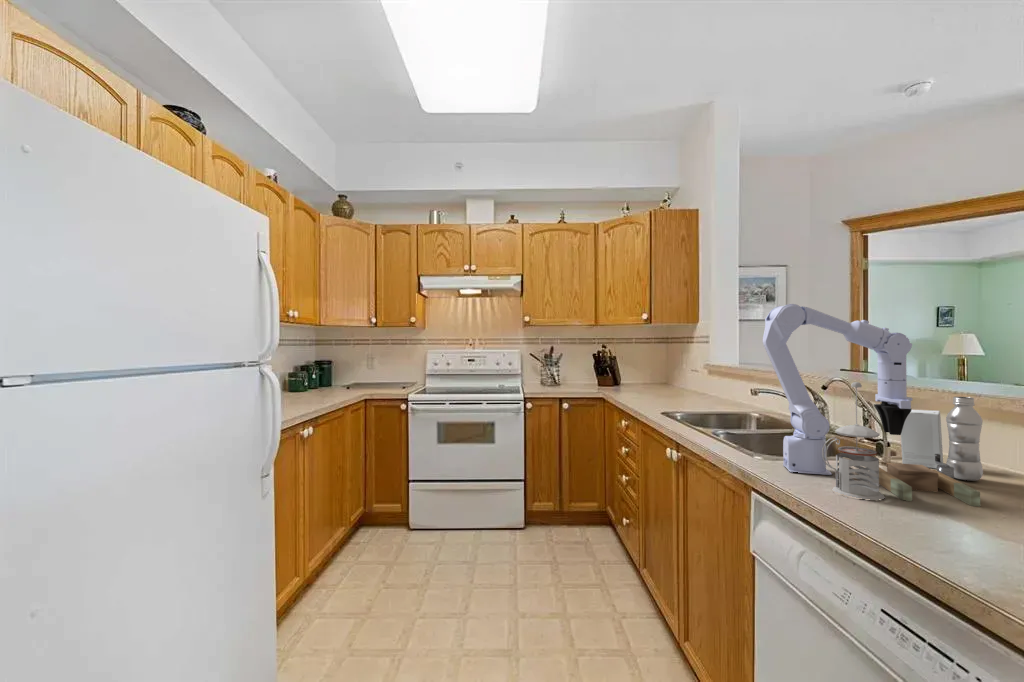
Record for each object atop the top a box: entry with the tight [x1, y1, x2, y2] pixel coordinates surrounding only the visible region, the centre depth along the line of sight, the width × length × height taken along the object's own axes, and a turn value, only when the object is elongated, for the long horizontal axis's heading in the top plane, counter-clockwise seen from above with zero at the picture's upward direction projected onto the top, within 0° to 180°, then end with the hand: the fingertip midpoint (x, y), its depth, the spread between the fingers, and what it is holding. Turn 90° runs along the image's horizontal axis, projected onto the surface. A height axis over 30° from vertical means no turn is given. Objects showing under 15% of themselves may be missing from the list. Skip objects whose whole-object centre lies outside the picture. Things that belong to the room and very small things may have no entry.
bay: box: [879, 467, 981, 507], centre depth 107 cm, size 13×18×3 cm
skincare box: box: [900, 409, 944, 470], centre depth 128 cm, size 8×6×15 cm
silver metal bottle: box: [945, 396, 984, 482], centre depth 114 cm, size 6×7×20 cm
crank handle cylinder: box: [935, 454, 955, 479], centre depth 112 cm, size 3×5×6 cm, turn 162°
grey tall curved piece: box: [822, 381, 886, 500], centre depth 105 cm, size 10×12×25 cm
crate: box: [885, 462, 939, 493], centre depth 110 cm, size 7×7×4 cm
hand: (892, 433), depth 119 cm, fingers open, 2 cm apart
